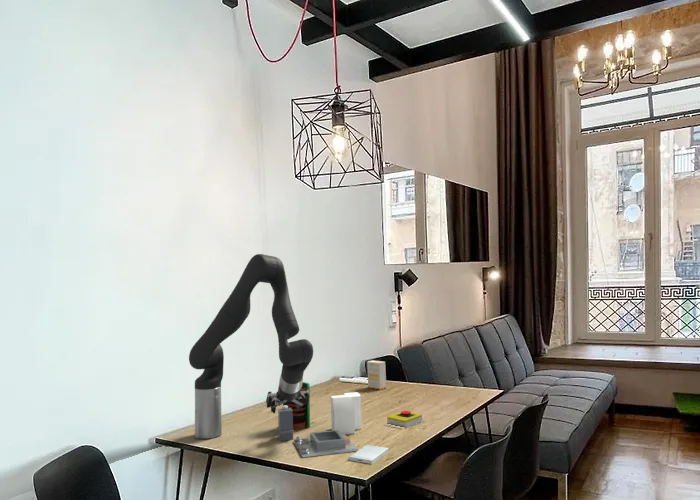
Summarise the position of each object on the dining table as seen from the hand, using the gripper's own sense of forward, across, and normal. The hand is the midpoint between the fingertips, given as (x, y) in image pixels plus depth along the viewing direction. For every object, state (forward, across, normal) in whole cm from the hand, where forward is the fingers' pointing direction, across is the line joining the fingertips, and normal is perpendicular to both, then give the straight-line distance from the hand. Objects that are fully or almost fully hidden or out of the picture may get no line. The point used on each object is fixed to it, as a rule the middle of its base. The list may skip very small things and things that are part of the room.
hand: (286, 409), depth 186 cm
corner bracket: (+11, -23, +4) cm, 26 cm away
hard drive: (-9, -22, +25) cm, 35 cm away
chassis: (-1, -11, +15) cm, 19 cm away
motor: (+18, -6, -3) cm, 19 cm away
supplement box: (+54, -55, -39) cm, 87 cm away
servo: (+9, 0, +6) cm, 10 cm away
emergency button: (+12, -46, +4) cm, 48 cm away
